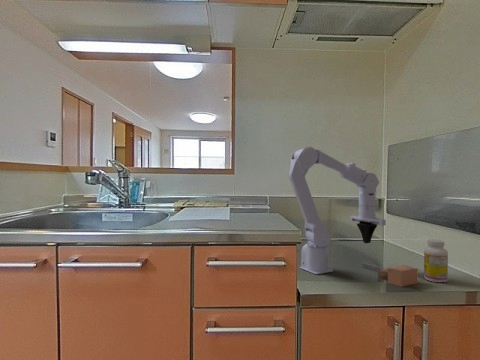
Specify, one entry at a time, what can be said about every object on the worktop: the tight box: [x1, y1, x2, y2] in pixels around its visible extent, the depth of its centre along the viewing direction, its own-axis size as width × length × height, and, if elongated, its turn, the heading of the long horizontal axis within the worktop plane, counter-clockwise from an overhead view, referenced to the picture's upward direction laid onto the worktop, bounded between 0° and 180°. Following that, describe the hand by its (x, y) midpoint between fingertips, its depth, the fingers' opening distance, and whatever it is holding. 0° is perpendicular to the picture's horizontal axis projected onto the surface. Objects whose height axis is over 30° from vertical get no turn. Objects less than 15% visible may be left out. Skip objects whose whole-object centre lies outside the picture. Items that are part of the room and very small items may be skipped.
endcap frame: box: [361, 262, 418, 288], centre depth 112 cm, size 21×8×4 cm, turn 27°
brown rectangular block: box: [378, 267, 388, 282], centre depth 107 cm, size 8×4×3 cm, turn 31°
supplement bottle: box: [423, 238, 449, 284], centre depth 107 cm, size 7×7×13 cm
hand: (366, 242), depth 121 cm, fingers closed
